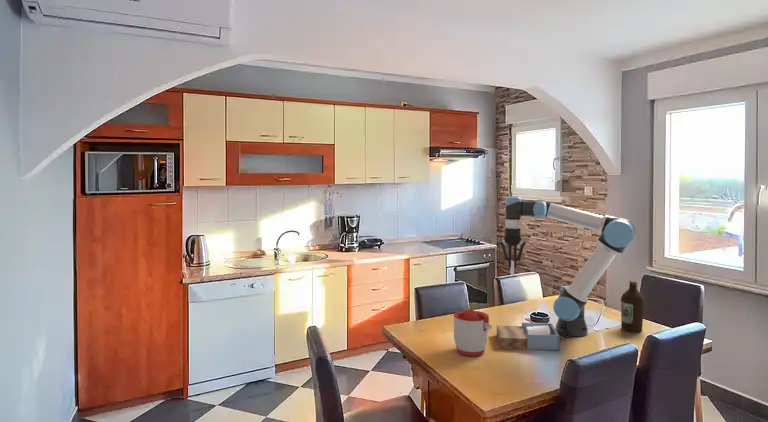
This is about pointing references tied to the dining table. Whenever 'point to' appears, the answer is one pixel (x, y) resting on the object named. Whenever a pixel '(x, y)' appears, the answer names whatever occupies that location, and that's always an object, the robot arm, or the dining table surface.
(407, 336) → the dining table surface
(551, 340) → the box
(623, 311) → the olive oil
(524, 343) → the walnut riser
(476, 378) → the dining table surface
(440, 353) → the dining table surface
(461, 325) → the citrus juicer
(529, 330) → the white cup
